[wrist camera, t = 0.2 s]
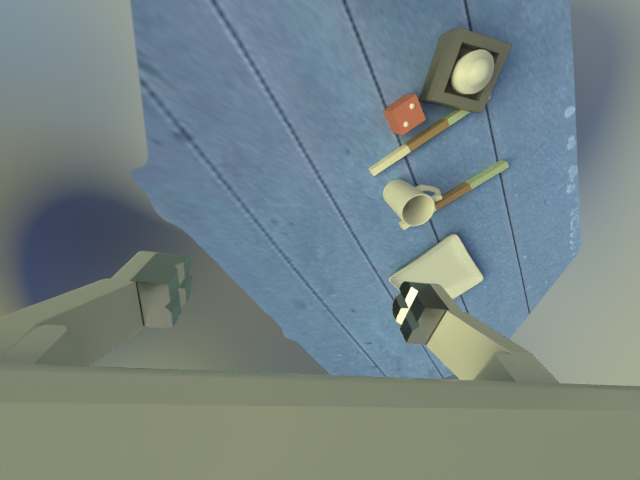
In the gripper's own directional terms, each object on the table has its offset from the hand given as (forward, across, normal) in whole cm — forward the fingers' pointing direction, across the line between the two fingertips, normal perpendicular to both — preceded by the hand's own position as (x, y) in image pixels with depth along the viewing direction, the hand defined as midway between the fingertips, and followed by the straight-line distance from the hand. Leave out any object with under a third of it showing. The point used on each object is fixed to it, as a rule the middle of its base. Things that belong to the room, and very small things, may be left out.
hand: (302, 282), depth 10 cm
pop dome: (+44, -29, -17) cm, 55 cm away
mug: (+48, -27, +7) cm, 55 cm away
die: (+48, -20, -8) cm, 53 cm away
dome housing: (+48, -29, -17) cm, 58 cm away
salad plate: (+48, -45, +29) cm, 72 cm away
